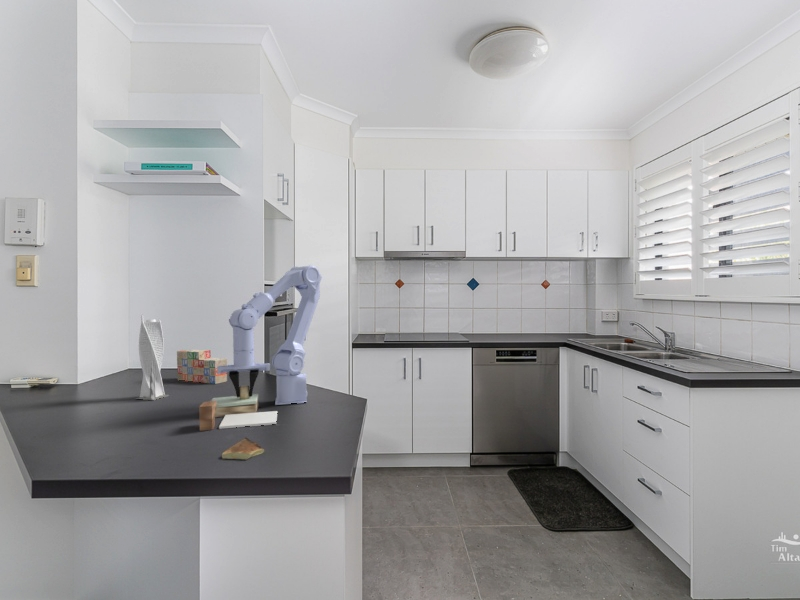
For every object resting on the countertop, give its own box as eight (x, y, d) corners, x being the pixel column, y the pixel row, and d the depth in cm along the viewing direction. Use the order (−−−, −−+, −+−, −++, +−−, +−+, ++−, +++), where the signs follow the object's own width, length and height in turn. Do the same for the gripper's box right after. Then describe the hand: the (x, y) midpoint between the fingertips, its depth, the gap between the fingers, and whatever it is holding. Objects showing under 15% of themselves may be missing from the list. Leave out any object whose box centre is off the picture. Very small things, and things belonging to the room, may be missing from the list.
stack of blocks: (227, 381, 180) (227, 350, 180) (215, 384, 175) (214, 352, 175) (190, 378, 190) (189, 348, 189) (177, 380, 184) (176, 350, 184)
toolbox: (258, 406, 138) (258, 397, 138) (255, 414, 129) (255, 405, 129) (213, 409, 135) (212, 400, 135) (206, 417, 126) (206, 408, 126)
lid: (258, 396, 138) (257, 382, 138) (256, 403, 129) (255, 388, 129) (213, 400, 135) (212, 386, 135) (207, 408, 126) (206, 393, 126)
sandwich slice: (245, 443, 104) (245, 435, 104) (277, 445, 103) (277, 437, 103) (220, 460, 94) (219, 451, 94) (254, 462, 92) (254, 453, 92)
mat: (277, 413, 130) (277, 411, 130) (276, 424, 118) (276, 422, 118) (225, 416, 126) (225, 414, 126) (219, 428, 115) (219, 426, 115)
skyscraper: (131, 399, 149) (130, 315, 149) (150, 394, 157) (149, 314, 157) (153, 400, 147) (151, 315, 147) (171, 395, 155) (169, 314, 155)
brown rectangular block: (216, 422, 120) (216, 400, 120) (212, 429, 114) (212, 406, 114) (204, 423, 120) (204, 400, 120) (199, 430, 113) (199, 406, 113)
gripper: (269, 347, 138) (270, 391, 139) (218, 349, 134) (219, 395, 135) (269, 350, 132) (270, 396, 132) (216, 352, 128) (217, 400, 128)
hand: (244, 396), depth 133 cm, fingers closed on lid, 3 cm apart
